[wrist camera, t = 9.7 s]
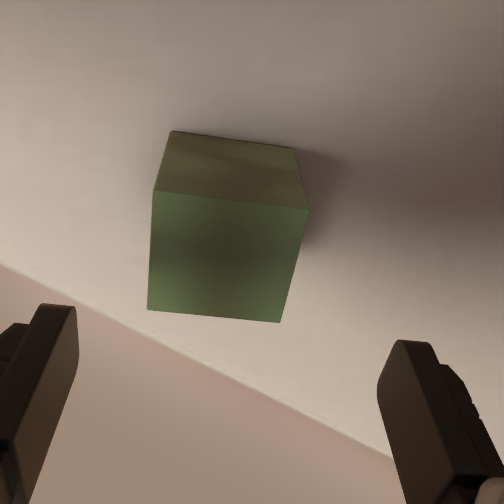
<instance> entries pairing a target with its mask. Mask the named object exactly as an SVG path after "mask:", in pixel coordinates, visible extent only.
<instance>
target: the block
mask: <svg viewBox="0 0 504 504" xmlns="http://www.w3.org/2000/svg"><path fill="white" fill-rule="evenodd" d="M309 213H310V209H309V205H308V201H307V197H306V193H305V189H304V186H303V182H302V178H301V174H300V170H299V166H298V163H297V159H296V155H295V151H294V149H292V148H285V147H278V146H271V145H264V144H257V143H250V142H243V141H236V140H229V139H222V138H215V137H208V136H201V135H194V134H187V133H180V132H173V131H171V132H170V134H169V138H168V141H167V144H166V148H165V151H164V155H163V158H162V161H161V165H160V168H159V172H158V175H157V179H156V182H155V185H154V189H153V199H152V218H151V238H150V257H149V277H148V296H147V310H153V311H163V312H174V313H184V314H194V315H204V316H214V317H224V318H234V319H244V320H254V321H265V322H275V323H280V321H281V318H282V314H283V310H284V306H285V303H286V299H287V295H288V291H289V288H290V284H291V280H292V276H293V273H294V269H295V265H296V261H297V258H298V254H299V250H300V246H301V243H302V239H303V235H304V231H305V228H306V224H307V220H308V216H309Z"/></svg>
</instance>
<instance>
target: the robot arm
mask: <svg viewBox="0 0 504 504" xmlns="http://www.w3.org/2000/svg"><path fill="white" fill-rule="evenodd" d="M78 359H79V342H78V328H77V314H76V309H75V307H74V306H66V305H55V304H46V303H42V304H40V306H39V307H38V309H37V311H36V312H35V314H34V316H33V318H32V320H31V322H30V324H21V323H14V324H12V325H11V326H10V327H9V328H8V329H6V330H5V331H4V332H3V333H2V334H0V504H29V501H30V499H31V496H32V493H33V490H34V488H35V485H36V482H37V479H38V476H39V474H40V471H41V468H42V466H43V463H44V460H45V457H46V455H47V452H48V449H49V446H50V443H51V441H52V438H53V435H54V433H55V430H56V427H57V424H58V422H59V419H60V416H61V413H62V411H63V408H64V405H65V402H66V400H67V397H68V394H69V391H70V388H71V386H72V383H73V380H74V378H75V374H76V371H77V366H78ZM377 400H378V405H379V408H380V412H381V415H382V419H383V422H384V426H385V429H386V433H387V437H388V440H389V444H390V447H391V451H392V454H393V458H394V461H395V465H396V468H397V472H398V475H399V479H400V482H401V486H402V489H403V493H404V497H405V500H406V503H407V504H504V465H503V463H502V461H501V459H500V457H499V455H498V453H497V451H496V449H495V447H494V445H493V442H492V440H491V438H490V436H489V434H488V432H487V430H486V428H485V426H484V424H483V422H482V420H481V419H479V413H478V411H477V409H476V407H475V405H474V404H472V399H471V397H470V395H469V393H468V391H467V388H466V386H465V384H464V382H463V381H462V380H461V379H460V378H459V377H458V375H457V374H456V373H455V372H454V371H453V370H452V369H451V368H450V367H449V366H448V365H444V364H440V363H439V361H438V359H437V357H436V354H435V352H434V350H433V348H432V346H431V345H430V344H429V343H428V342H420V341H410V340H397V341H396V342H395V344H394V346H393V348H392V350H391V353H390V355H389V357H388V359H387V361H386V364H385V366H384V368H383V370H382V373H381V375H380V377H379V380H378V384H377Z"/></svg>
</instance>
